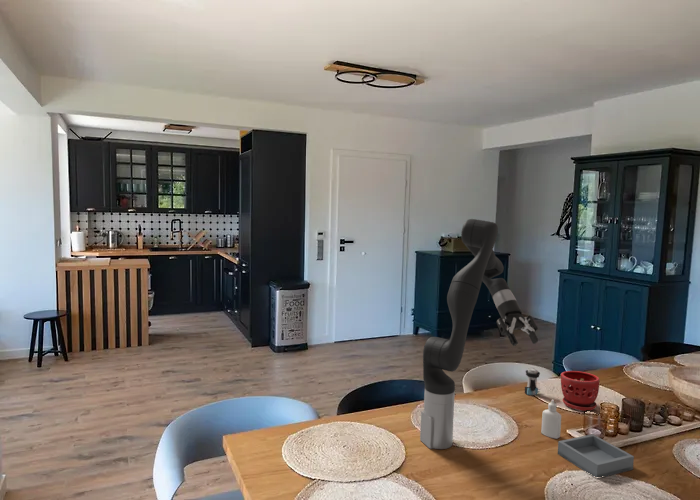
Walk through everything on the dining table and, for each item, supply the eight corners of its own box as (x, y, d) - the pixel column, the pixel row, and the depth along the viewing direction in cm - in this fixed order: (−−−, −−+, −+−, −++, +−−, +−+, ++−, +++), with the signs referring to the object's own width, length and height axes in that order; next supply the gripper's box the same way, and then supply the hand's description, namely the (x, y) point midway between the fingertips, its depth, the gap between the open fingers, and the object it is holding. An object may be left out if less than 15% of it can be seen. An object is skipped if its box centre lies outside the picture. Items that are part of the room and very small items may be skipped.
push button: (535, 390, 194) (537, 366, 193) (544, 395, 188) (545, 371, 188) (521, 391, 192) (523, 367, 191) (529, 397, 187) (531, 372, 186)
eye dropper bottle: (549, 430, 158) (552, 396, 157) (562, 438, 153) (564, 402, 152) (539, 432, 157) (541, 397, 156) (551, 440, 152) (553, 404, 151)
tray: (596, 478, 130) (597, 465, 130) (557, 453, 143) (558, 441, 143) (632, 469, 135) (633, 456, 135) (591, 446, 148) (592, 434, 148)
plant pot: (599, 404, 181) (601, 374, 180) (595, 416, 170) (597, 384, 169) (562, 396, 188) (564, 367, 187) (556, 407, 177) (558, 376, 176)
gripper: (495, 300, 170) (514, 340, 160) (527, 297, 175) (548, 336, 165) (485, 311, 175) (503, 350, 166) (517, 308, 180) (536, 347, 171)
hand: (525, 343), depth 165 cm, fingers open, 8 cm apart
